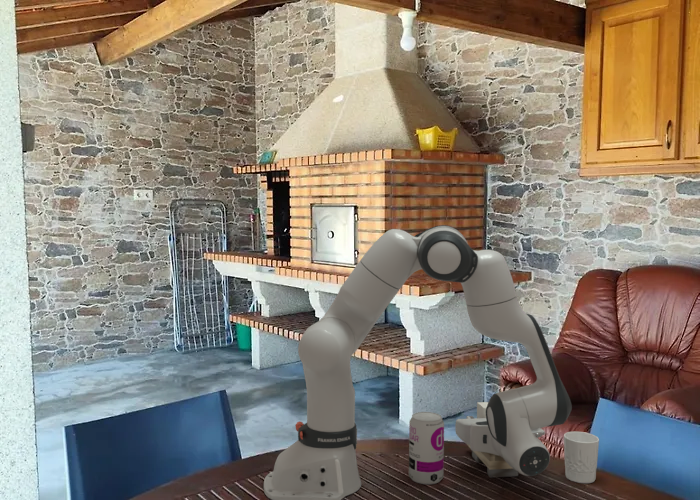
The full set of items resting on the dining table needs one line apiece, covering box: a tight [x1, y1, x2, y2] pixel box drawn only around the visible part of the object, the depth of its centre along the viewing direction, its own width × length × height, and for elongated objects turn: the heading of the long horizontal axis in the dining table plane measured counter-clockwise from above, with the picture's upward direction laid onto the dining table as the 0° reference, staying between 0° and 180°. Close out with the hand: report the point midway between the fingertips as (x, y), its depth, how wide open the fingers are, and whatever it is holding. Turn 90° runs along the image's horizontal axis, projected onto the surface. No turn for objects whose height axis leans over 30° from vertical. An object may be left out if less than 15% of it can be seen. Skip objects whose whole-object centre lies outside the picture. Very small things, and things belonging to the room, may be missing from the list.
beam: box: [466, 444, 519, 478], centre depth 158 cm, size 8×17×6 cm, turn 8°
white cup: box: [563, 431, 600, 484], centre depth 150 cm, size 8×8×10 cm
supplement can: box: [408, 411, 445, 485], centre depth 148 cm, size 8×8×15 cm
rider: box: [476, 401, 489, 418], centre depth 161 cm, size 4×5×10 cm
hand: (486, 418), depth 162 cm, fingers open, 8 cm apart
